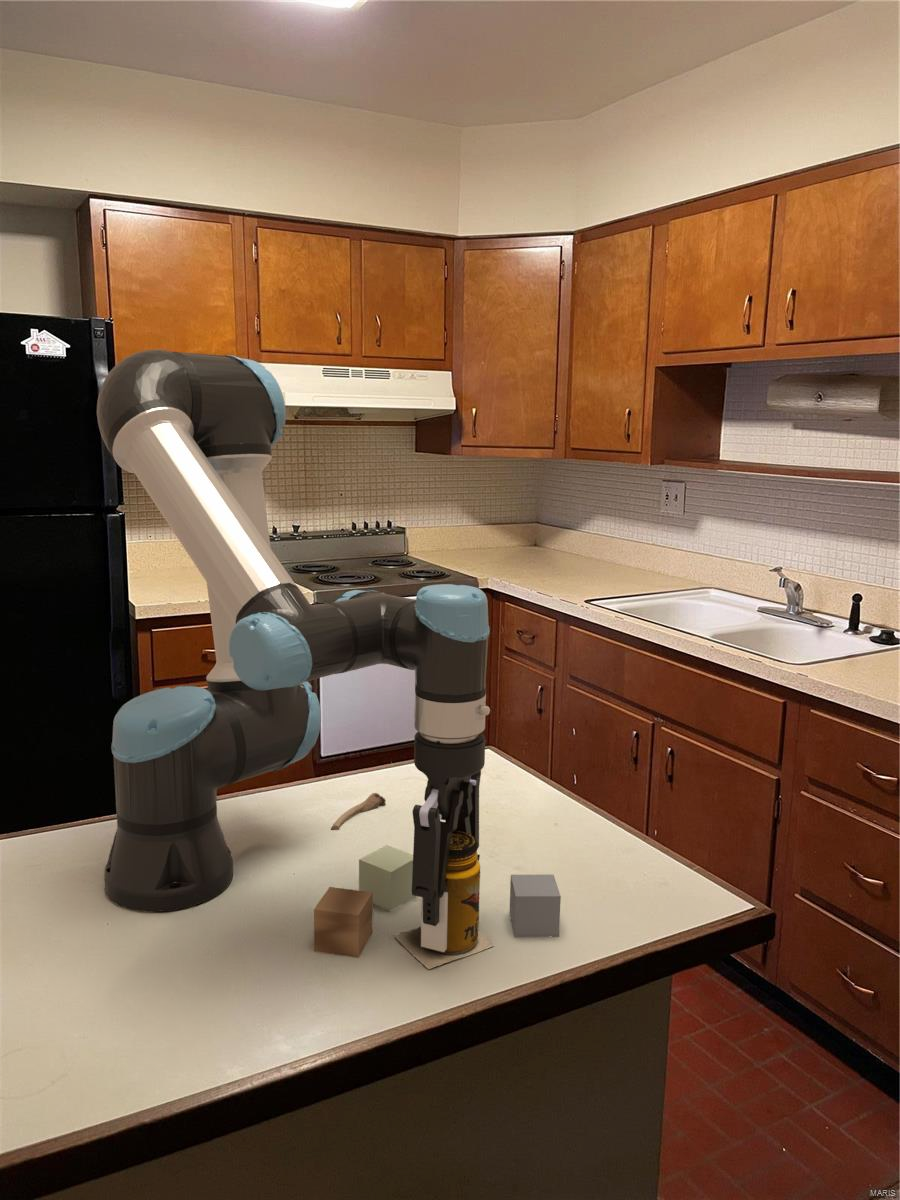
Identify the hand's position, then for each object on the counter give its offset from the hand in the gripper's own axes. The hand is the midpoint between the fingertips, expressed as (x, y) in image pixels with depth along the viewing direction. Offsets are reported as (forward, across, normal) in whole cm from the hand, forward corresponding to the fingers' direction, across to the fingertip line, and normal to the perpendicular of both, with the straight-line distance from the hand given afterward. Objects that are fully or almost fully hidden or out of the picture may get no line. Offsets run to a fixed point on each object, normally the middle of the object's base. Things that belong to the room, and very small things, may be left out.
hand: (446, 931), depth 100 cm
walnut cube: (+1, -5, +10) cm, 11 cm away
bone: (+1, +25, +24) cm, 35 cm away
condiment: (+1, -1, 0) cm, 1 cm away
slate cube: (+1, +7, -8) cm, 11 cm away
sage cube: (+1, +6, +10) cm, 12 cm away
